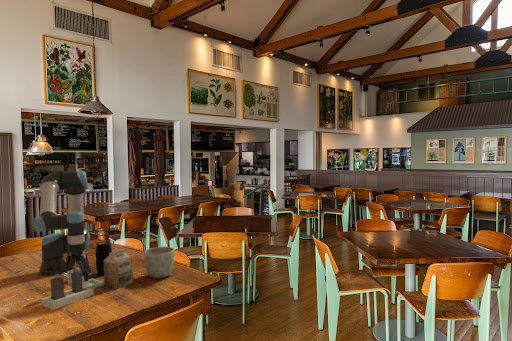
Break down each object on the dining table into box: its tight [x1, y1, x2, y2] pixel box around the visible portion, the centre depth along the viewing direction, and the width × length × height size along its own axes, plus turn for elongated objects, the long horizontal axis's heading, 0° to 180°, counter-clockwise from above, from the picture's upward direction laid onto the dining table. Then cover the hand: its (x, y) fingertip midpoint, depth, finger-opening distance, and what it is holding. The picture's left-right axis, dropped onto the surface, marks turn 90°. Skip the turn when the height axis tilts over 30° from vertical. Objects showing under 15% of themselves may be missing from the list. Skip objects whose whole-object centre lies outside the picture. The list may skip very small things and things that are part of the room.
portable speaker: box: [95, 240, 113, 277], centre depth 208 cm, size 9×9×20 cm
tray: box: [88, 278, 104, 290], centre depth 188 cm, size 11×11×2 cm
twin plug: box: [50, 273, 65, 300], centre depth 165 cm, size 4×4×14 cm
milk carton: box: [103, 248, 134, 290], centre depth 189 cm, size 11×11×19 cm
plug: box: [71, 267, 84, 293], centre depth 173 cm, size 4×4×14 cm
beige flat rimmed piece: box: [41, 287, 94, 310], centre depth 169 cm, size 10×20×4 cm, turn 147°
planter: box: [144, 246, 175, 279], centre depth 203 cm, size 17×17×15 cm
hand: (78, 285), depth 173 cm, fingers open, 12 cm apart
